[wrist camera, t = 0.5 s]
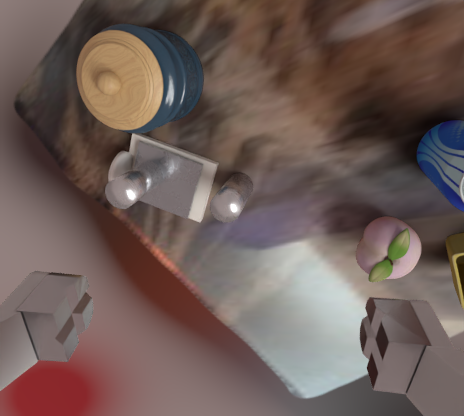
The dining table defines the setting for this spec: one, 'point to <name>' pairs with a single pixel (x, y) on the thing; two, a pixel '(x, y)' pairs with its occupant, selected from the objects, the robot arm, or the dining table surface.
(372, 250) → the decorative fruit
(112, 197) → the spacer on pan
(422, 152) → the beer can
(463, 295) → the flower pot
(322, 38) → the dining table surface
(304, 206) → the dining table surface
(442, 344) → the robot arm
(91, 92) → the canister
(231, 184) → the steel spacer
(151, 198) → the grey square plate
